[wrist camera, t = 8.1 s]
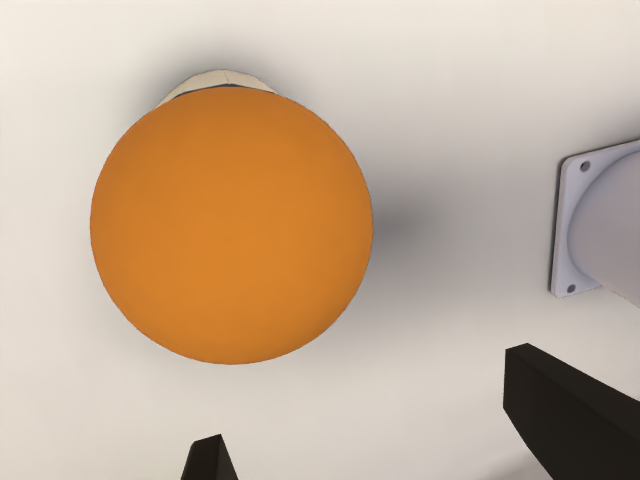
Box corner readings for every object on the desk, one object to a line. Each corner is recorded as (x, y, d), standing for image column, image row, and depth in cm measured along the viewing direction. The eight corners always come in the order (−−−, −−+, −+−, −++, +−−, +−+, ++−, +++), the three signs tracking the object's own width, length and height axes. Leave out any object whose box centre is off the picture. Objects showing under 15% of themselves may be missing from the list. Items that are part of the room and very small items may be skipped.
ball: (314, 55, 11) (409, 68, 6) (345, 249, 13) (428, 376, 8) (81, 102, 10) (-45, 166, 5) (163, 299, 12) (133, 470, 7)
